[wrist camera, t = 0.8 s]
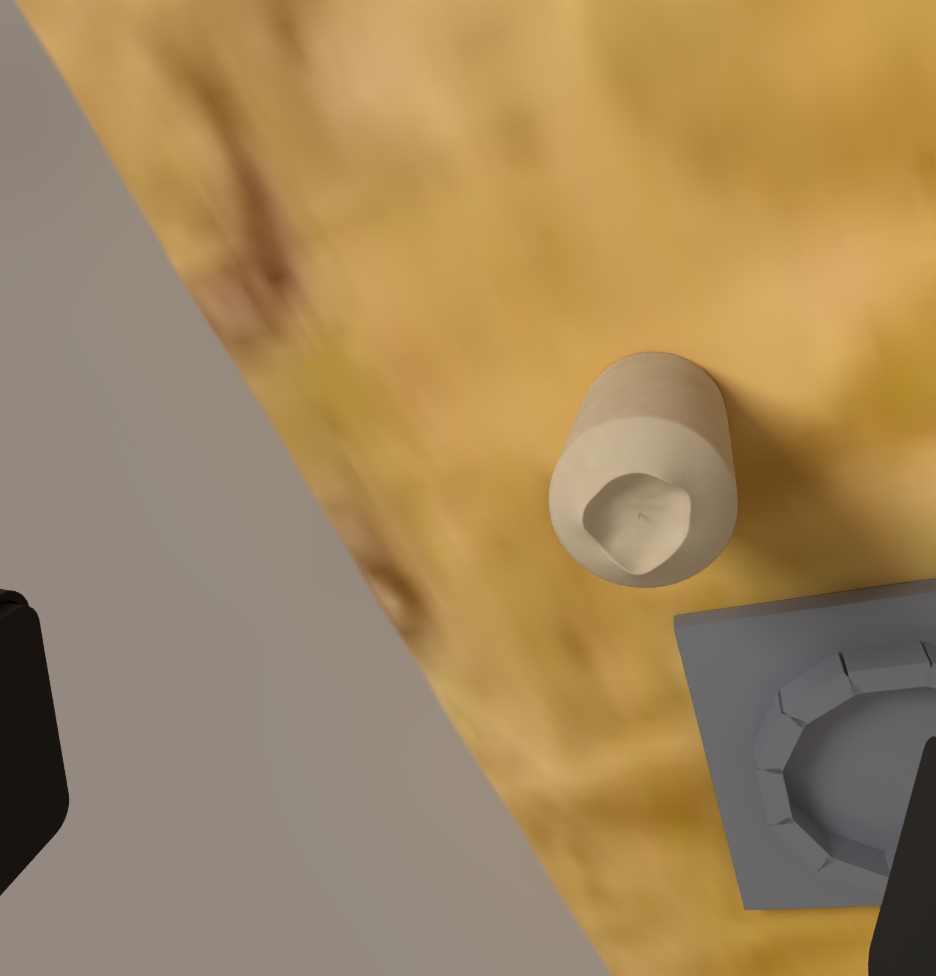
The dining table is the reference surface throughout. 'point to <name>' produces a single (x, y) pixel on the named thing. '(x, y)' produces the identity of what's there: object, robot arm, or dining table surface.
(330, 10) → the dining table surface
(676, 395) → the candle
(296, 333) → the dining table surface
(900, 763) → the candle dish
